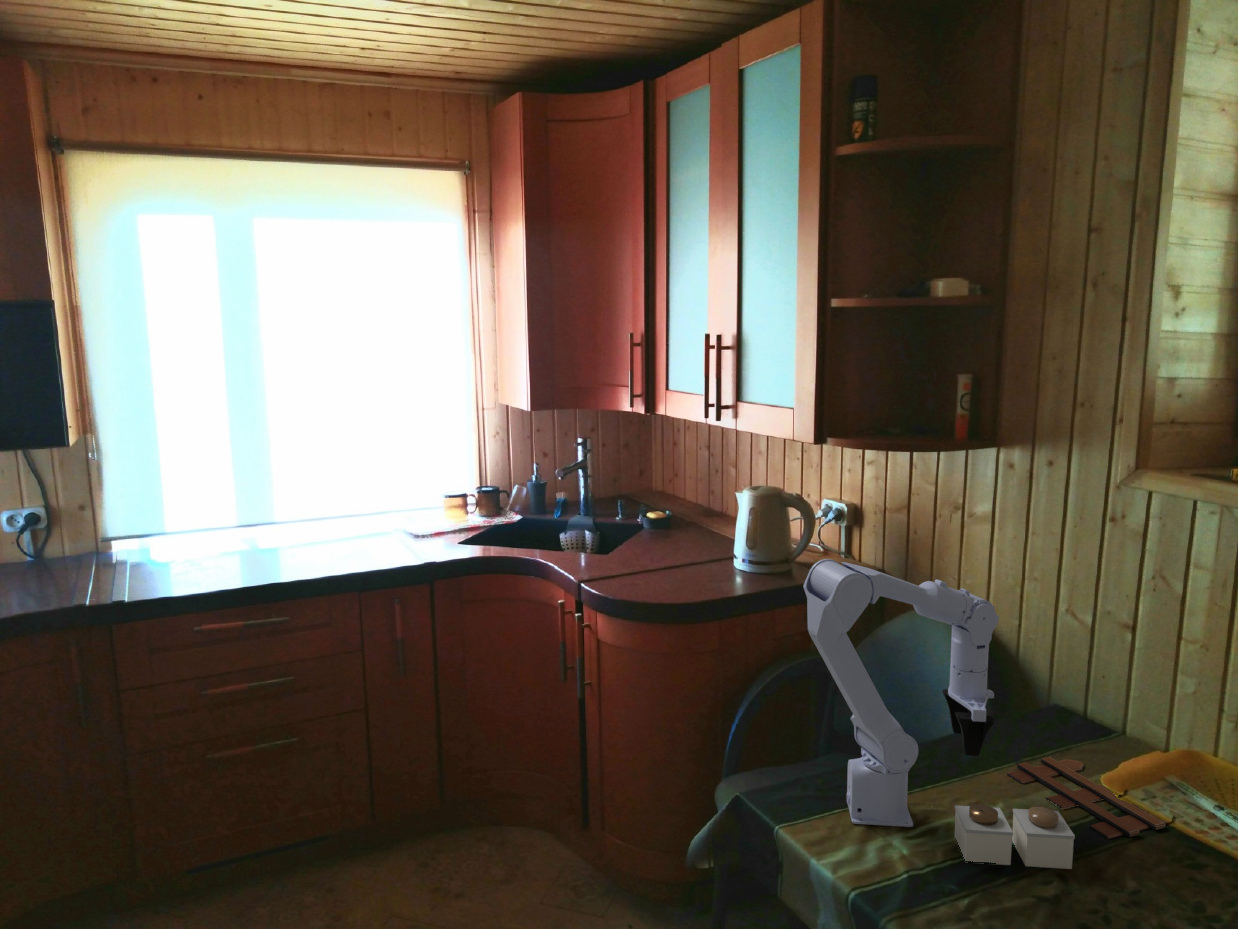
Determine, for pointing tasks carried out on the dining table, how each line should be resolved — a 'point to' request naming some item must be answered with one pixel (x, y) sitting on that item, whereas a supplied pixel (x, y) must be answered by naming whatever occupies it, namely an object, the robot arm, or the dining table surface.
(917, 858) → the dining table surface
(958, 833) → the left press
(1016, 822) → the block
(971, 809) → the left press plunger
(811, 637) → the robot arm
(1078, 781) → the decorative fence
